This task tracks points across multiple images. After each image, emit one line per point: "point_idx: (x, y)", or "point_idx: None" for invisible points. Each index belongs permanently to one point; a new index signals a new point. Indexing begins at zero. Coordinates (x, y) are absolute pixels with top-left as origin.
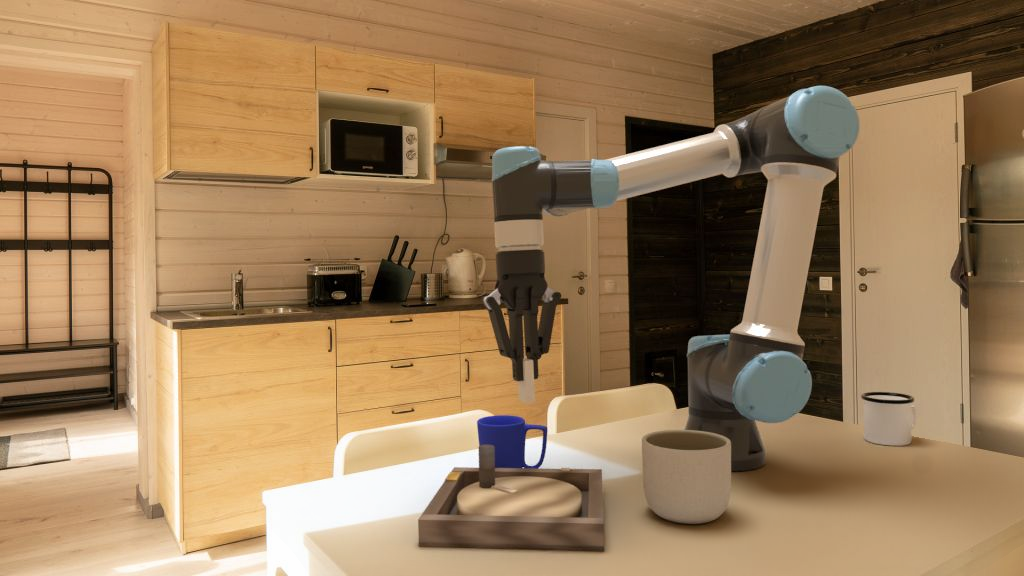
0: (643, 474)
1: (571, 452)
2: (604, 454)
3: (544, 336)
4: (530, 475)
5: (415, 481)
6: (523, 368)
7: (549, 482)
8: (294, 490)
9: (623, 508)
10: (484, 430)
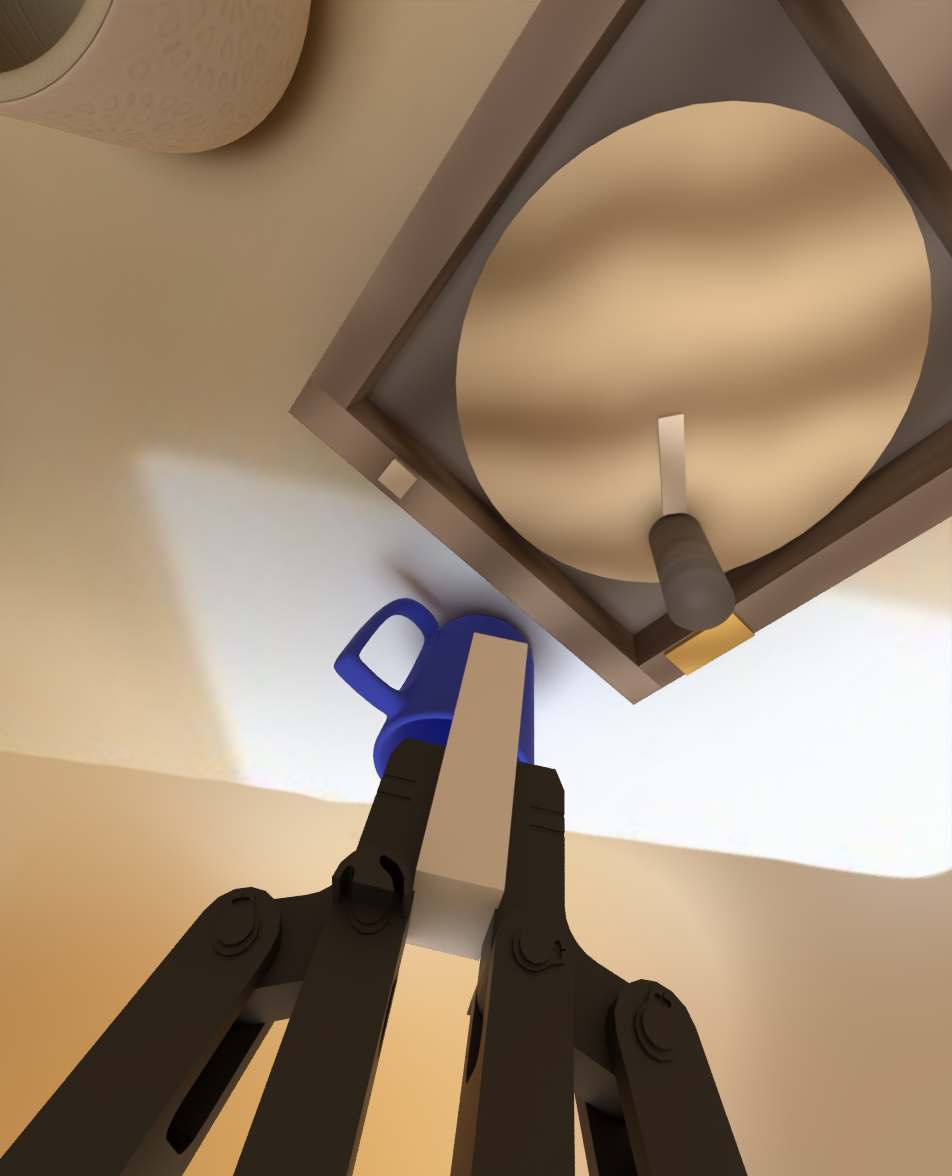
0: (253, 13)
1: (230, 679)
2: (163, 621)
3: (144, 1136)
4: (496, 535)
5: (659, 753)
6: (507, 836)
7: (501, 433)
8: (895, 860)
9: (353, 207)
10: (533, 755)
